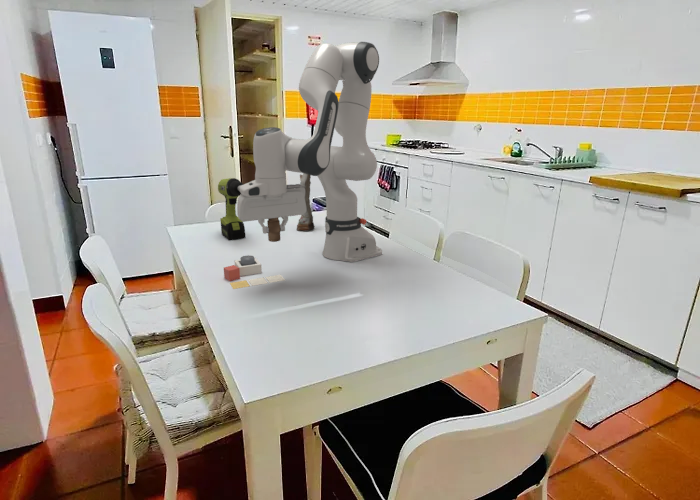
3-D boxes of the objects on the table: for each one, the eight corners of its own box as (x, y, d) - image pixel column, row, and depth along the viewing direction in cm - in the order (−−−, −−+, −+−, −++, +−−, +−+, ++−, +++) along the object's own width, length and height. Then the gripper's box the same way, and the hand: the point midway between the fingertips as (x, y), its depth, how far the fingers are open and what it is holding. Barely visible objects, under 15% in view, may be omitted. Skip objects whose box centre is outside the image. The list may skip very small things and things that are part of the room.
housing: (256, 266, 142) (255, 257, 141) (261, 273, 136) (261, 264, 135) (235, 269, 139) (234, 260, 138) (239, 276, 133) (239, 267, 132)
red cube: (234, 275, 134) (233, 265, 133) (240, 278, 132) (239, 268, 130) (224, 278, 132) (223, 267, 131) (229, 281, 129) (228, 270, 128)
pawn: (278, 237, 130) (277, 212, 127) (281, 240, 127) (280, 215, 124) (267, 238, 129) (265, 213, 126) (270, 242, 126) (268, 216, 123)
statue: (300, 226, 193) (298, 159, 183) (316, 227, 192) (315, 160, 182) (295, 231, 186) (293, 162, 176) (311, 232, 185) (310, 162, 175)
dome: (253, 266, 140) (252, 254, 139) (256, 270, 137) (255, 258, 135) (239, 268, 138) (238, 256, 137) (242, 272, 135) (242, 260, 133)
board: (270, 264, 146) (270, 261, 146) (289, 286, 129) (289, 282, 129) (220, 272, 139) (220, 269, 138) (233, 296, 122) (233, 292, 122)
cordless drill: (255, 245, 167) (251, 181, 158) (237, 247, 163) (232, 183, 155) (236, 230, 185) (231, 173, 177) (219, 233, 181) (214, 174, 173)
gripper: (301, 181, 130) (302, 225, 134) (233, 187, 121) (237, 233, 126) (308, 185, 124) (310, 230, 129) (238, 191, 116) (242, 239, 120)
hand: (274, 231), depth 127 cm, fingers closed on pawn, 4 cm apart
